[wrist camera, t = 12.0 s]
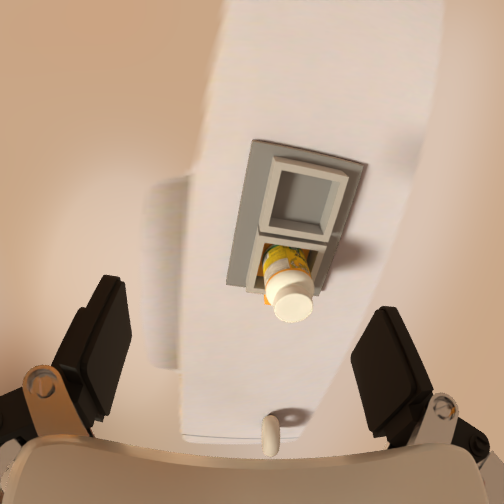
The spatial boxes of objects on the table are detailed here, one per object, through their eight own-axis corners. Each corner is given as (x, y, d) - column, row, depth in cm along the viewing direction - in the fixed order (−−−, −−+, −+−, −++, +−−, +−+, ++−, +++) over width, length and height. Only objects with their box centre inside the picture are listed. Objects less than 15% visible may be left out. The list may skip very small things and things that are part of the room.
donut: (263, 407, 60) (265, 447, 51) (279, 406, 60) (283, 447, 52) (259, 426, 65) (261, 463, 57) (274, 426, 65) (277, 462, 57)
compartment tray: (252, 139, 32) (253, 147, 29) (360, 163, 34) (374, 174, 30) (226, 279, 42) (225, 300, 38) (316, 290, 44) (323, 311, 40)
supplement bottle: (254, 251, 38) (257, 301, 30) (293, 232, 37) (307, 279, 29) (273, 281, 41) (281, 334, 33) (310, 265, 40) (326, 315, 31)
